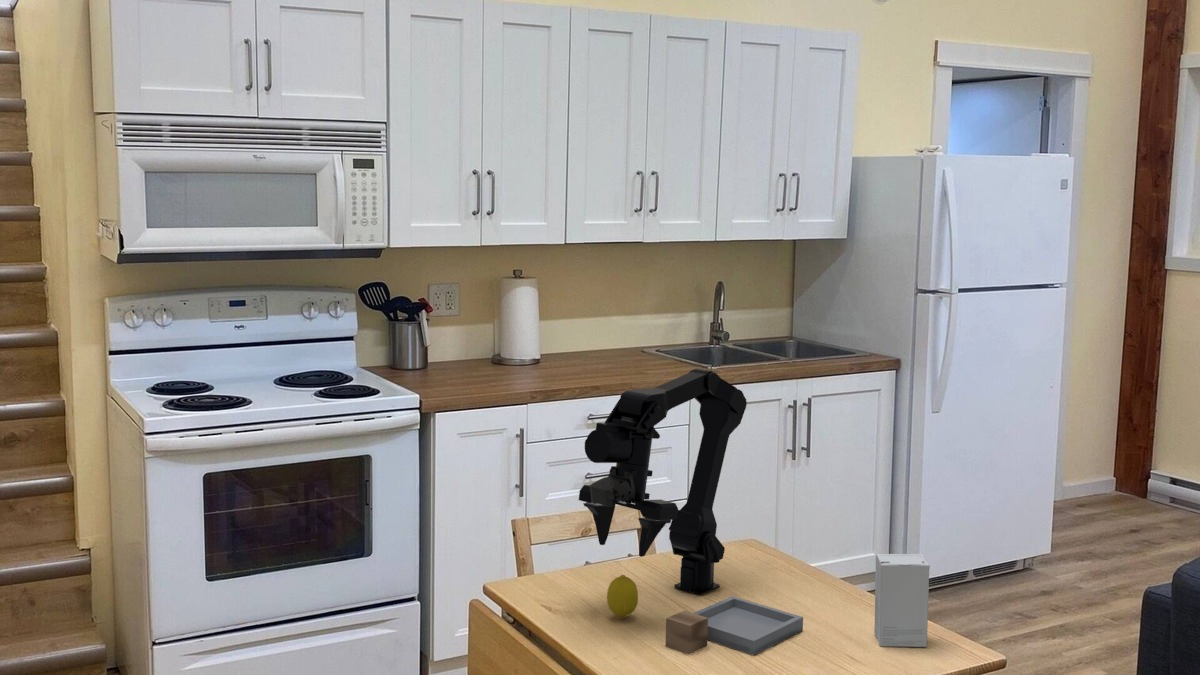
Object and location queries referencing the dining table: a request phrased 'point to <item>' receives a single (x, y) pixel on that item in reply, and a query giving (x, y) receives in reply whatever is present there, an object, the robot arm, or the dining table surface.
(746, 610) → the dish
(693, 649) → the walnut block
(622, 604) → the lemon
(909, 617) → the skincare box
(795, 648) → the dining table surface
